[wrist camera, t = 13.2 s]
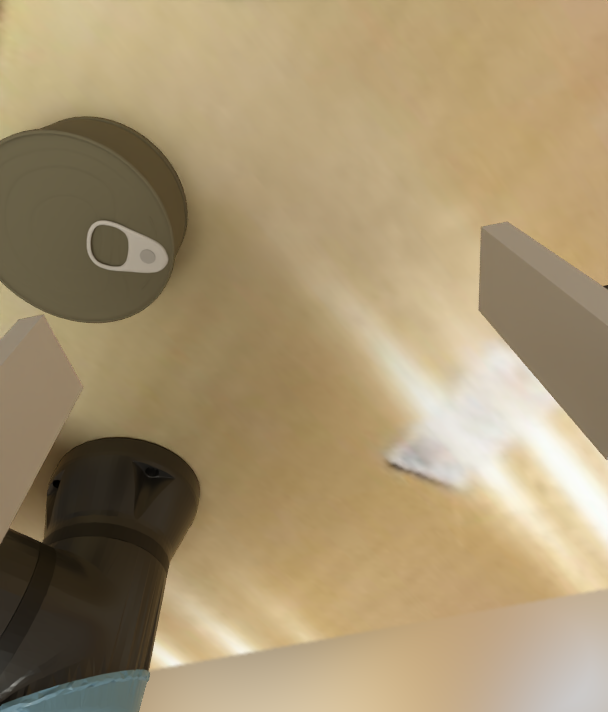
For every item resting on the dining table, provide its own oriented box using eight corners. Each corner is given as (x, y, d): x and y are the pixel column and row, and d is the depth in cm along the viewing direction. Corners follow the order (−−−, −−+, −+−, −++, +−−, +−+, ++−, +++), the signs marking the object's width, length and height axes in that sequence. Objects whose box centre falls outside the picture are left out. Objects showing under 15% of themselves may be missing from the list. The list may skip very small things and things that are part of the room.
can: (14, 87, 30) (-47, 98, 24) (203, 144, 32) (188, 167, 27) (20, 258, 36) (-28, 300, 30) (177, 295, 39) (161, 340, 33)
